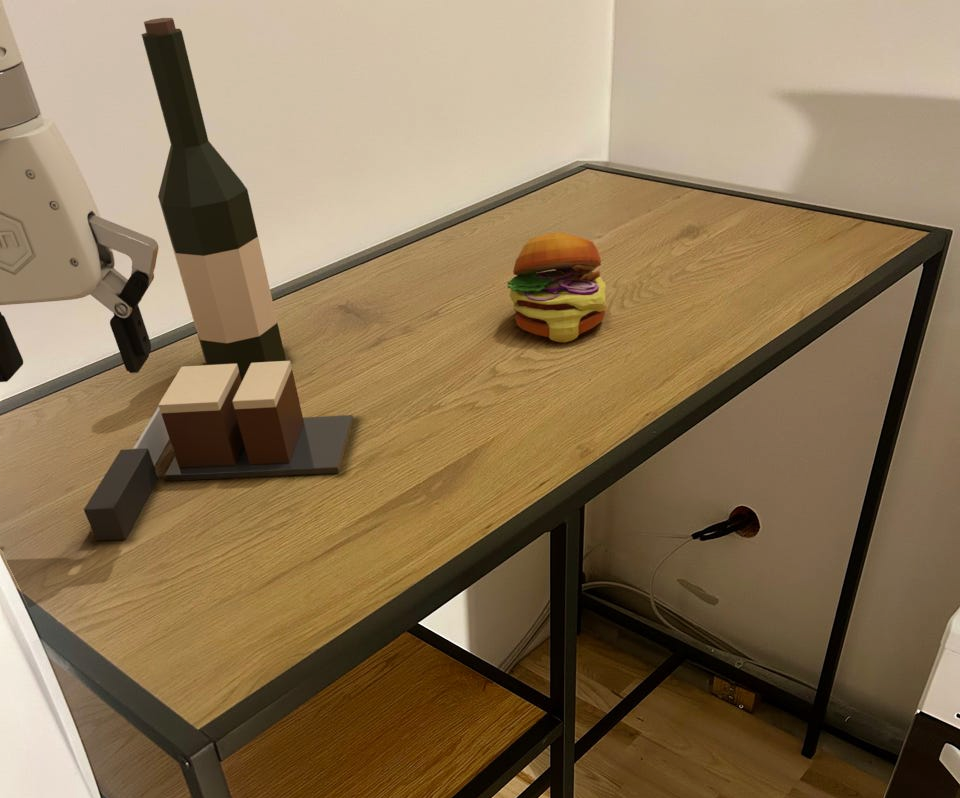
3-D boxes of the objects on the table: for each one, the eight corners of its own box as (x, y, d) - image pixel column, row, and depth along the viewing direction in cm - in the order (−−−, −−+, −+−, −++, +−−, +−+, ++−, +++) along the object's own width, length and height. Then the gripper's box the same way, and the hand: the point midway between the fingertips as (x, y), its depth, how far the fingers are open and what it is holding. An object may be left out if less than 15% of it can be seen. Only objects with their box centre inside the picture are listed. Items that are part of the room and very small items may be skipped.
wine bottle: (278, 380, 94) (195, 25, 74) (196, 385, 95) (92, 34, 75) (293, 344, 101) (219, 7, 81) (216, 349, 101) (124, 16, 81)
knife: (125, 539, 75) (113, 508, 73) (96, 541, 75) (83, 509, 73) (187, 426, 89) (177, 397, 87) (162, 427, 89) (152, 398, 87)
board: (166, 481, 81) (164, 475, 81) (194, 428, 88) (192, 422, 88) (338, 473, 80) (337, 467, 80) (353, 420, 87) (352, 414, 87)
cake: (178, 468, 82) (157, 404, 78) (200, 427, 87) (181, 366, 83) (235, 465, 81) (217, 401, 77) (253, 425, 87) (237, 363, 83)
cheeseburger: (513, 349, 95) (504, 242, 90) (509, 331, 104) (501, 233, 100) (614, 339, 95) (611, 231, 90) (602, 321, 104) (598, 222, 99)
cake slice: (249, 465, 81) (231, 400, 77) (266, 424, 86) (250, 362, 82) (289, 463, 81) (274, 398, 77) (304, 422, 86) (290, 360, 82)
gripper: (-196, 135, 56) (-61, 401, 67) (86, 109, 54) (176, 385, 66) (-130, 104, 62) (-16, 355, 73) (127, 79, 60) (203, 339, 71)
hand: (75, 369), depth 69 cm, fingers open, 9 cm apart
